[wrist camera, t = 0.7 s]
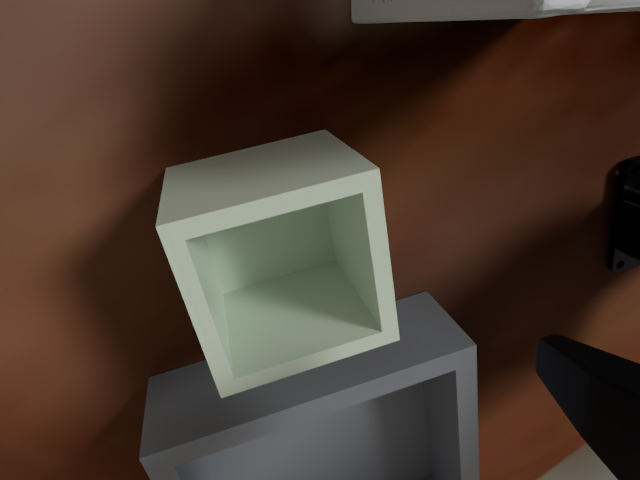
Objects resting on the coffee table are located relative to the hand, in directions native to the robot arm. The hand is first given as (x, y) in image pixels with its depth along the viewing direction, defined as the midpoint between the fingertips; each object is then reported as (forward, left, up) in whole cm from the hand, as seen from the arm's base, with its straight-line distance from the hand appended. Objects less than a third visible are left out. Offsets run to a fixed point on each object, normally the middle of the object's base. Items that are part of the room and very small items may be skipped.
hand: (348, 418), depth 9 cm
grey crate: (0, +13, -11) cm, 17 cm away
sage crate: (0, 0, -11) cm, 11 cm away
